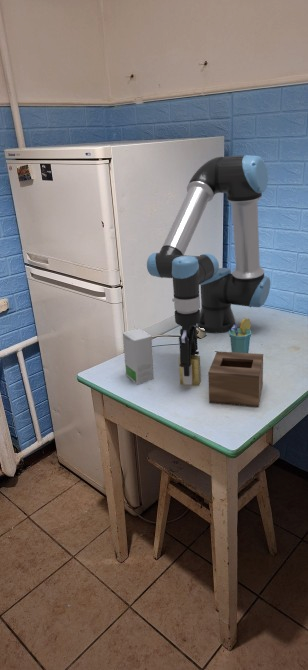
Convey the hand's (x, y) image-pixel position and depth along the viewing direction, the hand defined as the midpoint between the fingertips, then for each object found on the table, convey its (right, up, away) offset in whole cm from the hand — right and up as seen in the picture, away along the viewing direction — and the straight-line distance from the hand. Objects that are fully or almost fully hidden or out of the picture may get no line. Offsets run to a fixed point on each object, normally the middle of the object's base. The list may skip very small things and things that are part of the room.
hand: (190, 378), depth 147 cm
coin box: (+13, -4, -7) cm, 16 cm away
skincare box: (-16, 0, +6) cm, 17 cm away
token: (0, -1, +1) cm, 2 cm away
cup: (+17, +4, +12) cm, 21 cm away
